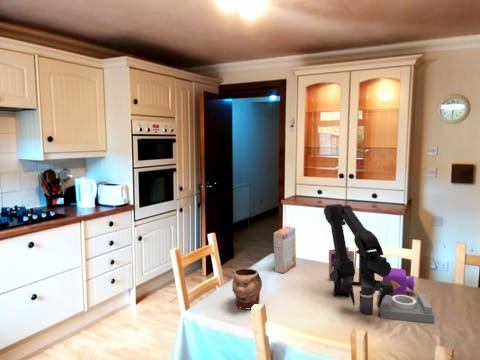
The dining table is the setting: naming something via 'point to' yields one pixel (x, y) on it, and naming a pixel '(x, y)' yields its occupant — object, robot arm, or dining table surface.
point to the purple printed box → (333, 257)
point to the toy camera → (400, 281)
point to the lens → (366, 303)
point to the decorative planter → (246, 287)
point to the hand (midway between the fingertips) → (366, 306)
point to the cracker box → (284, 249)
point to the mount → (406, 308)
